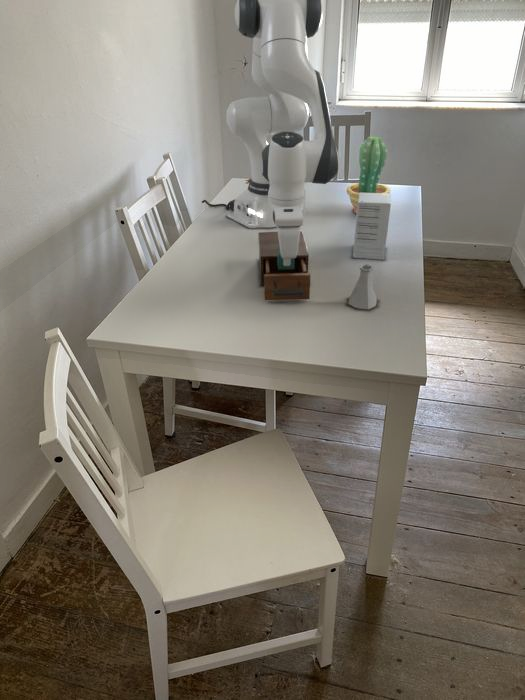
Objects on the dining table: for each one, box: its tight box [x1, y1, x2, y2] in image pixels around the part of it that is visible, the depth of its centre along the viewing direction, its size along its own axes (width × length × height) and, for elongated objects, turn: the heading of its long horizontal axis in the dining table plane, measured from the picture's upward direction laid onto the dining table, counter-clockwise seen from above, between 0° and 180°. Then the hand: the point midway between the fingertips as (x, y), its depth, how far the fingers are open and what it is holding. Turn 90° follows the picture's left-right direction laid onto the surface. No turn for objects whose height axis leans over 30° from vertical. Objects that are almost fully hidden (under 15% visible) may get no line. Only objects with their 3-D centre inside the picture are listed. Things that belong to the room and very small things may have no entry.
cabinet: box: [258, 230, 310, 287], centre depth 147 cm, size 17×13×9 cm
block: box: [277, 248, 294, 270], centre depth 133 cm, size 4×4×4 cm
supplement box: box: [352, 193, 392, 261], centre depth 154 cm, size 10×9×17 cm
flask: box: [347, 263, 378, 310], centre depth 131 cm, size 7×7×10 cm
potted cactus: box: [346, 135, 391, 214], centre depth 182 cm, size 15×15×25 cm
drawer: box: [263, 258, 311, 301], centre depth 136 cm, size 21×11×7 cm, turn 2°
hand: (285, 260), depth 133 cm, fingers closed on block, 4 cm apart
